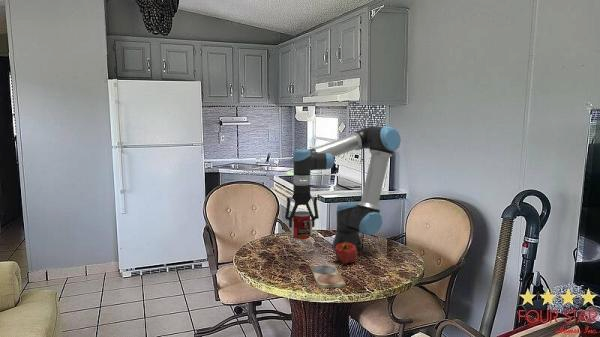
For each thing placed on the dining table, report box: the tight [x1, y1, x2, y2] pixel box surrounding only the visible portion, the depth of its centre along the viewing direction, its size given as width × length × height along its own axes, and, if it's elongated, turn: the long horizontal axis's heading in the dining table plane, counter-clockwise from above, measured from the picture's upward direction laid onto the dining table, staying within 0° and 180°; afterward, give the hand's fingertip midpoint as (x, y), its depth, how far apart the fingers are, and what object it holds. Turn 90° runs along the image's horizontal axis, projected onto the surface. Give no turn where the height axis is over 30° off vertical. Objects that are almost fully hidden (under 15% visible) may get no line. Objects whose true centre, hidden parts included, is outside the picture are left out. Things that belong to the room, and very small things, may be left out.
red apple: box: [334, 242, 358, 265], centre depth 198 cm, size 11×10×10 cm
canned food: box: [292, 210, 311, 240], centre depth 191 cm, size 8×8×11 cm
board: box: [309, 264, 347, 289], centre depth 180 cm, size 11×22×2 cm, turn 8°
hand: (301, 234), depth 191 cm, fingers closed on canned food, 8 cm apart
